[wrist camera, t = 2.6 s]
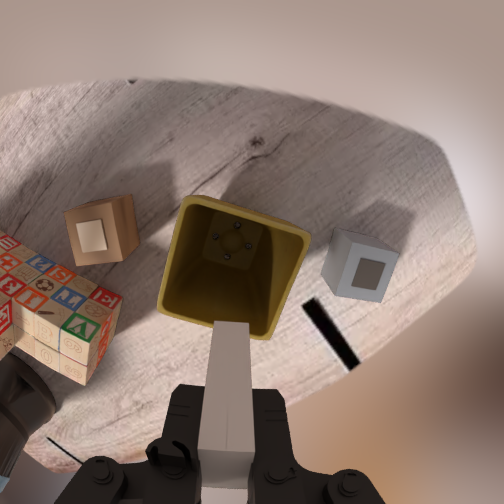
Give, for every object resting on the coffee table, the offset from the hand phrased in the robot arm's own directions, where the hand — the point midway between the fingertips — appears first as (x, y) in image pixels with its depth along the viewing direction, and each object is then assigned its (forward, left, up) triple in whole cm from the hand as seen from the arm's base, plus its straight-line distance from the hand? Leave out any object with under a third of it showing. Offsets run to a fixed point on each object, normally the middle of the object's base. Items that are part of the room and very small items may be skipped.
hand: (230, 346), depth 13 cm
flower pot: (0, 0, -16) cm, 16 cm away
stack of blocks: (-23, -6, -17) cm, 29 cm away
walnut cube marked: (-12, +1, -16) cm, 20 cm away
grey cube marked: (+12, -1, -16) cm, 20 cm away
